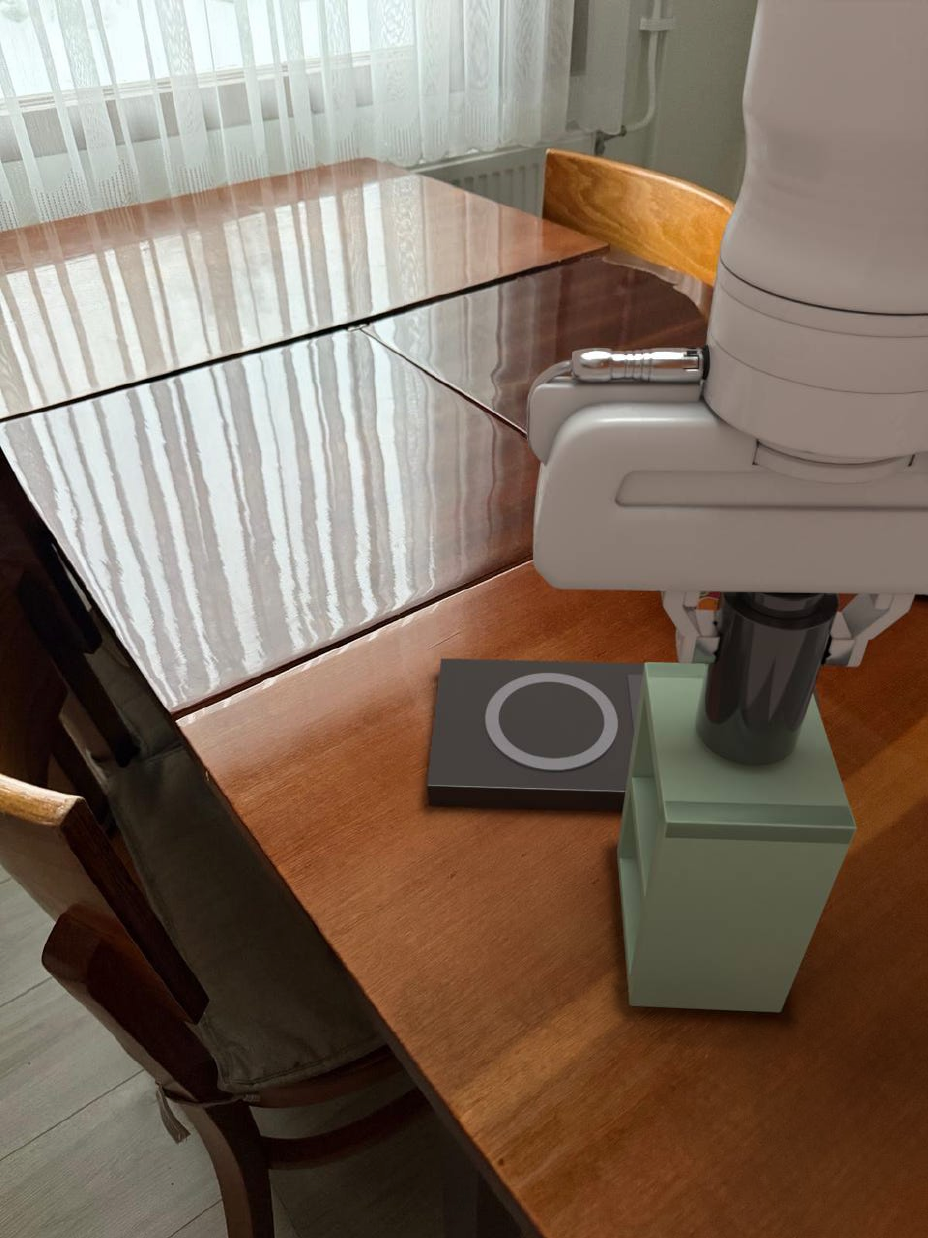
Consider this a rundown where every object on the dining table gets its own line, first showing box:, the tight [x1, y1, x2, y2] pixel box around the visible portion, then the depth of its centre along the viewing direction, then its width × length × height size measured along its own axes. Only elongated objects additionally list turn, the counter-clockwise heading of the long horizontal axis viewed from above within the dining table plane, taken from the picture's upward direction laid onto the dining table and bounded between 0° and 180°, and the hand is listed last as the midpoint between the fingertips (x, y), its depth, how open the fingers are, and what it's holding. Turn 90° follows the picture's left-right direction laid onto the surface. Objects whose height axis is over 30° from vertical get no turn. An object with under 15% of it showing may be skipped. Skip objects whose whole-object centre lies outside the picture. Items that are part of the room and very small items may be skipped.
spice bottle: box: [695, 591, 840, 766], centre depth 39 cm, size 5×5×12 cm
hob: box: [426, 657, 645, 813], centre depth 64 cm, size 16×12×2 cm
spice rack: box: [616, 661, 858, 1013], centre depth 48 cm, size 8×10×16 cm
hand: (765, 655), depth 40 cm, fingers closed on spice bottle, 4 cm apart
